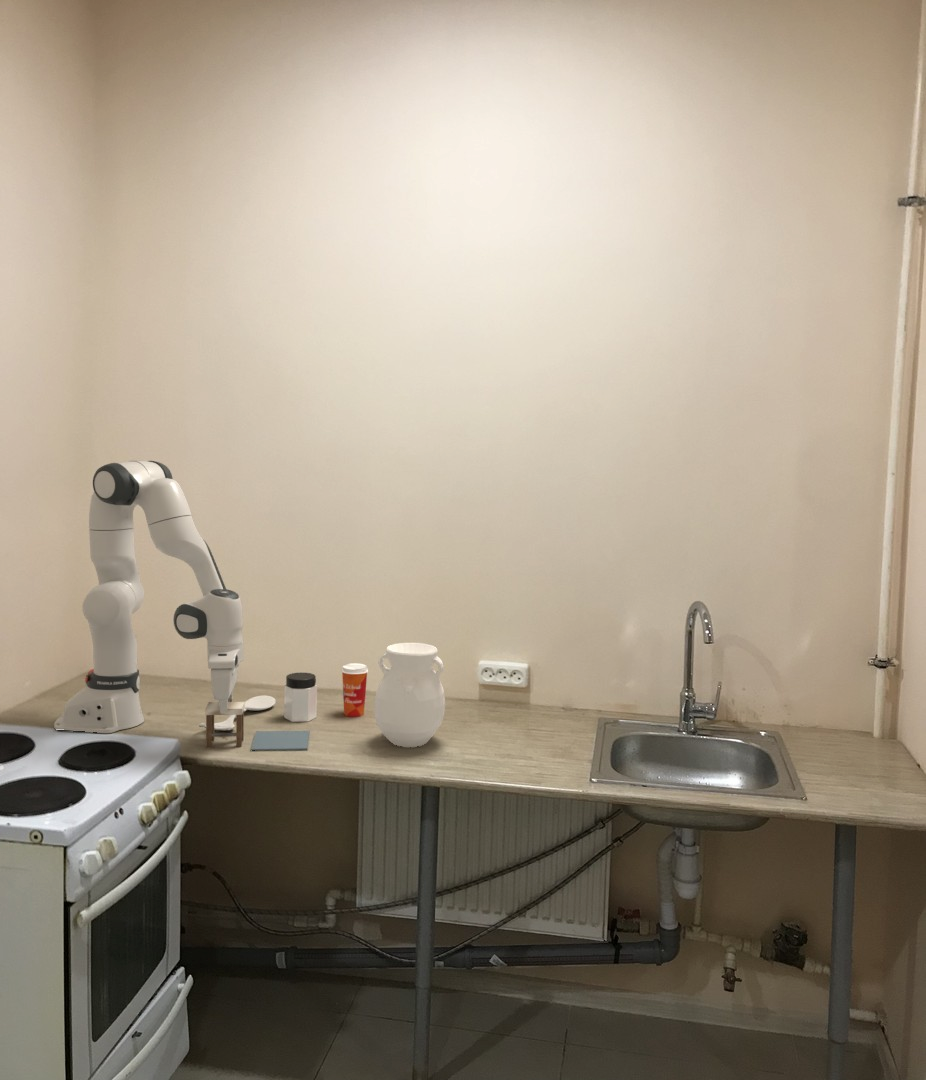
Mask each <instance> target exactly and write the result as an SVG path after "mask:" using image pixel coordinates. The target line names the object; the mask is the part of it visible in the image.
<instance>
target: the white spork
mask: <svg viewBox="0 0 926 1080" xmlns="http://www.w3.org/2000/svg"><path fill="white" fill-rule="evenodd" d="M244 702H245V708H244V713H245V712H246V711H248V710H249V711H252V712H253V711H256V712H257V711H258V712H259V711H263V710H267V709H269V708H271V707H273V706H274V705H275V704H276V702H277V701H276V698H274V697H273V696H271V695H266V694H265V695H263V694H262V695H257V696H253V697H250V698H248V699H247V700H245V701H244ZM235 718H236V715H228V718H226V719H225V720H223V721H220V722H219V721H218V722H214V731H221V732H222V731H225V732H226V731H231V730H233V729H234V728H235V727H236V725H235V724H234V722H235V721H234V720H235ZM198 727H199V728H204V729H206V722H201V723H199V724H198Z"/></svg>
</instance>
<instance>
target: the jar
mask: <svg viewBox="0 0 926 1080" xmlns="http://www.w3.org/2000/svg"><path fill="white" fill-rule="evenodd" d="M285 679H286V681H285V683H286V684H285V685H284V696H283V697H284V702H283V704H284V710H283V711H284V714H283V716H284V719H285V720H288V721H290V722H291V723H300V722H302V723H303V722H304V723H305V722H310V721H312V720H314V719H315V718H317V715H318V714H317V713H318V708H317V707H318V685H317V684H316V683H317V678H316V674H314V673H311V672H292V673H288V674H287V675H286V678H285Z"/></svg>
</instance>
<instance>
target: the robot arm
mask: <svg viewBox="0 0 926 1080" xmlns="http://www.w3.org/2000/svg"><path fill="white" fill-rule="evenodd" d="M92 488H93V493H92V494H91V497H90V498H91V499H90V504H89V513H88V528H89V529H88V531H89V532H88V534H89V536H88V537H89V554H90V555H89V556H90V560H91V562H92V563H93V565H94V568H95V570H96V575H97V576H96V577H97V579H98V585H97V586H95V587H93V588H91V590H90V591H89V592H88V594H87V595H86V596H85V598H84V600H83V602H82V612H83V613H82V614H83V615H84V618H85V619H86V620H87V624H88V627H89V631H90V635H91V640H92V641H91V642H92V653H93V655H92V656H93V657H92V658H93V660H92V661H93V669H92V668H91V669H90V670H89V671H88V672H87V674H86V675H85V678H84V680H85V681H84V682H85V685H86V686H84V687H83V688H82V689H80V690H78V692H77V693H75V694H74V695H73V696H71V697H70V698H69V699H68V700H67V701H66V703H65V705H64V709H63V713H62V715H61V716H59V717H58V718H57V719H56V720H55V721H54V723H53V729H54V728H55V729H64V730H75V731H85V732H84V733H93V732H97V734H111V733H115V732H118V731H120V730H127V729H130V728H135V727H137V726H140V725H141V724H143V723H144V722H145V717H144V715H143V712H142V708H141V700H140V694H139V691H140V687H141V685H140V684H141V677H140V670H139V669H138V641H137V639H136V637H135V634H134V630H133V625H132V615H133V614H135V613H136V612H137V611H138V610H139V609H140V608H141V605H143V603H144V599H145V593H146V592H145V589H144V586H143V584H142V582H141V576H140V573H139V568H138V564H137V559H136V550H135V549H136V547H135V531H134V530H135V529H134V528H135V527H134V526H135V525H134V510H135V508H136V506H140V507H141V508H142V510H143V513H144V514H145V518H146V524H147V528H148V531H149V535H150V538H151V540H152V543H153V545H154V546H155V548H156V549H157V550H158V551H159V552H161V553H162V554H164V555H166V556H168V557H172V558H175V559H177V560H180V561H183V562H184V563H186V564H187V565H188V566H189V567H190V568H191V570H192V571H193V573H194V575H195V578H196V580H197V583H198V585H199V589H200V590H201V593H202V597H200V598H197V599H194V600H191V601H187V602H185V603H184V602H183V603H182V604H180V605H179V606H178V607H177V608H176V609H175V611H174V614H173V626H174V629H175V631H176V632H177V634H178V635H180V637H182V638H183V639H186V640H196V639H202V638H205V639H206V642H207V644H206V647H207V650H206V651H207V668H208V669H210V679H211V682H210V683H211V690H212V697H213V699H214V700H217V701H218V702H219V705H220V713H227V712H228V702H233V699H234V697H233V694H234V688H235V685H236V683H237V681H238V676H239V675H238V674H239V672H238V671H239V670H238V668H239V665H240V663H241V662H243V661H244V657H245V656H244V653H245V652H244V638H243V635H242V634H243V626H244V615H243V614H244V613H243V605H242V599H241V597H240V595H239V594H238V593H237V592H236V591H235V590H234V591H233V590H231V589H227V588H226V585H225V583H224V581H223V577H222V575H221V572H220V570H219V567H218V566H217V563H216V560H215V558H214V555H213V554H212V550H211V549H210V547H209V545H208V543H207V542H206V540H205V539H203V538H202V536H201V534H200V533H199V530H198V529H197V527H196V525H195V522H194V519H193V515H192V512H191V508H190V505H189V503H188V500H187V498H186V495H185V493H184V490H183V489H182V487H181V485H180V484H179V482H178V481H176V480H175V479H173V475H172V472H171V470H170V468H169V467H168V466H167V465H166V464H164V463H162V462H160V461H154V460H128V461H121V462H111V463H107V464H104V465H103V466H102V465H101V466H100V467H99V468H98V469H96V471H95V473H94V475H93V477H92ZM55 729H54V730H55Z"/></svg>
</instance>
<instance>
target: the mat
mask: <svg viewBox="0 0 926 1080" xmlns="http://www.w3.org/2000/svg"><path fill="white" fill-rule="evenodd" d="M309 741H310V730H258V731H255V735H254V737H253V741H252V744H251V747H250V751H251V750H255V751H254V752H257V751H256V750H278V752H279V751H280V750H283V752H284V751H287V750H289V751H308V750H307V749H309ZM280 752H281V751H280Z"/></svg>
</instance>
